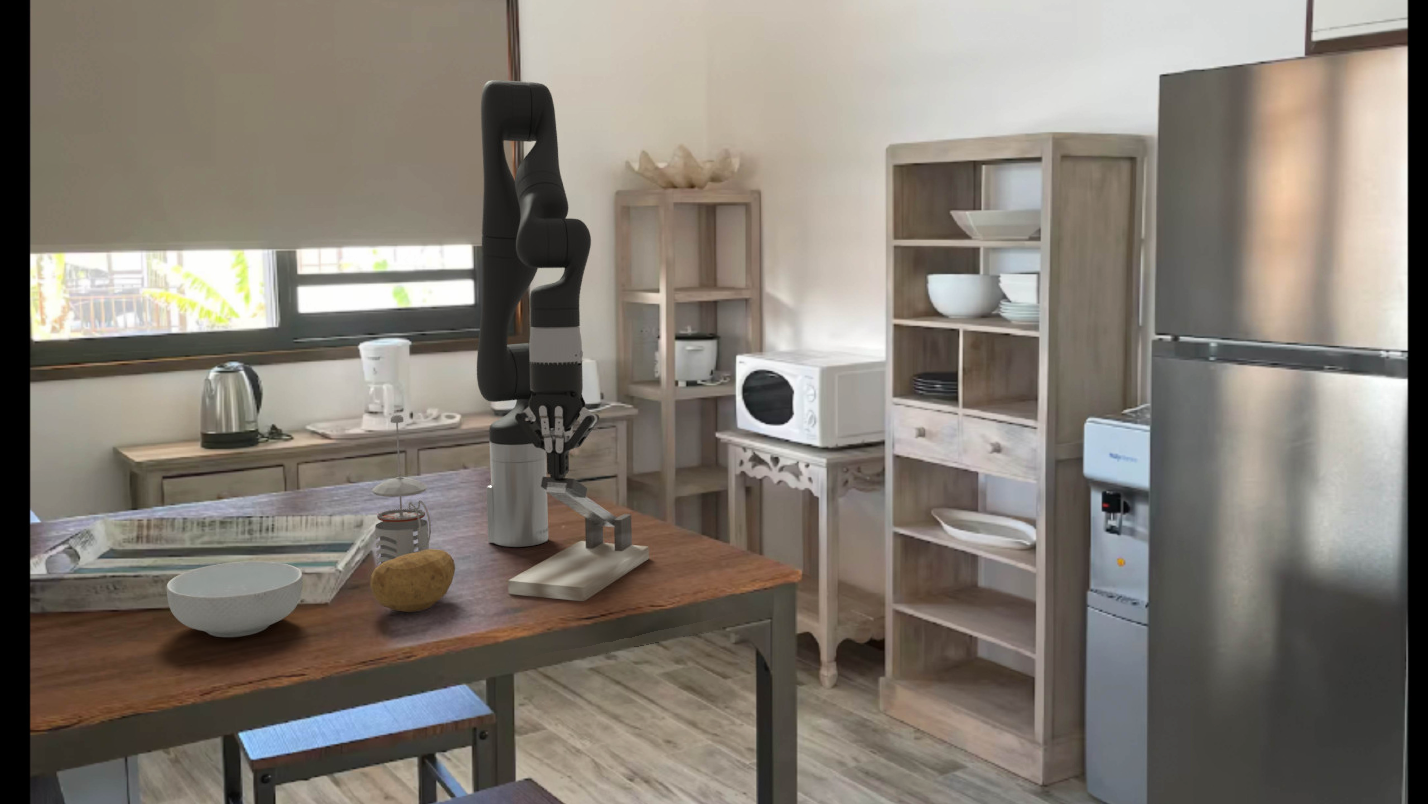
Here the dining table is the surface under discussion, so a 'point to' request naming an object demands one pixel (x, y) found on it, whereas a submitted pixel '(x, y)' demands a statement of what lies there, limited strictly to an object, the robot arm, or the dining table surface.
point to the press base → (583, 565)
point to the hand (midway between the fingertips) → (558, 477)
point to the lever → (577, 499)
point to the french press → (401, 516)
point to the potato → (413, 580)
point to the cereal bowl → (235, 596)
